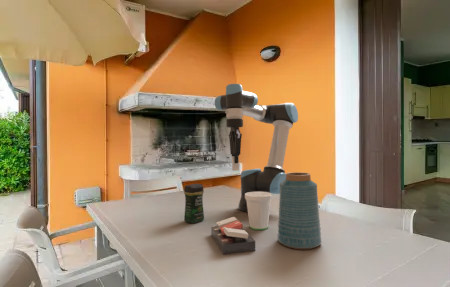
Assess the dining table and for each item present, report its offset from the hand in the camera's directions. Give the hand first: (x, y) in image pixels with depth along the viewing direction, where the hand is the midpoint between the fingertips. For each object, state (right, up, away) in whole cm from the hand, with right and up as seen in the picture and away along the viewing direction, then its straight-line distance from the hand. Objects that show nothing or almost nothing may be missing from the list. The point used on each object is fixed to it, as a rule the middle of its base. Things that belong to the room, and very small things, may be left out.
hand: (235, 170), depth 124 cm
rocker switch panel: (-3, -27, -14) cm, 30 cm away
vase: (+24, -26, -18) cm, 40 cm away
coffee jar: (-20, -27, +13) cm, 36 cm away
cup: (+11, -26, +1) cm, 28 cm away
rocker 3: (-1, -21, -23) cm, 31 cm away
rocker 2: (-2, -21, -17) cm, 27 cm away
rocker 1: (-4, -21, -11) cm, 24 cm away
